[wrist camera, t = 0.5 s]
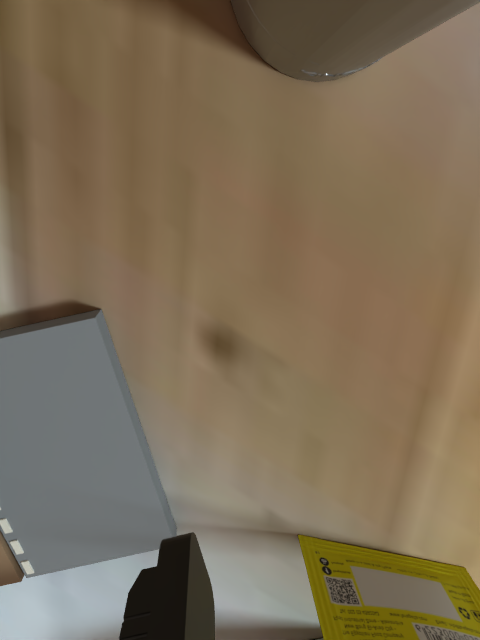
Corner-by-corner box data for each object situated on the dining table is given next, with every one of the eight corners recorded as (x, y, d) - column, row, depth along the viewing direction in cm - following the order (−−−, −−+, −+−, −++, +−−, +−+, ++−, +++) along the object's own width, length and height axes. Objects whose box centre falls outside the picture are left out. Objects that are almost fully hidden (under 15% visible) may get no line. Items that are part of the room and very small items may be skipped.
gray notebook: (-77, 348, 26) (-95, 359, 24) (101, 309, 26) (94, 318, 24) (34, 559, 32) (25, 579, 31) (176, 528, 32) (175, 546, 31)
